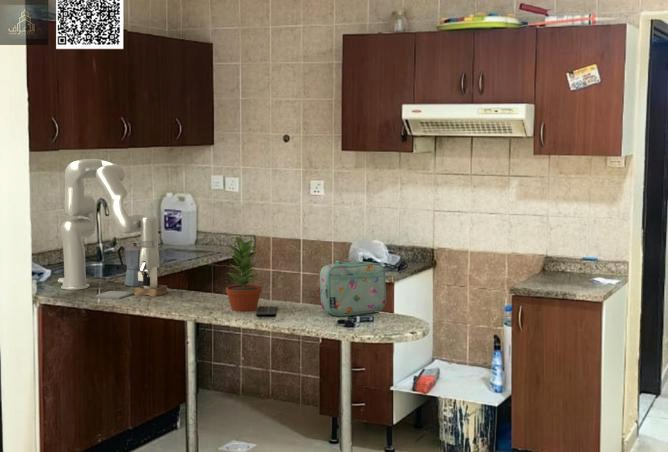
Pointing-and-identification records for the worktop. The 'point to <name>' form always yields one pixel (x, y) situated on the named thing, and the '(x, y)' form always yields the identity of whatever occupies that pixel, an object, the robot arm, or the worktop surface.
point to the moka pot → (131, 264)
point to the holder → (151, 290)
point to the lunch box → (352, 288)
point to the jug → (152, 278)
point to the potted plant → (243, 279)
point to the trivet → (114, 294)
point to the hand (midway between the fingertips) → (150, 284)
